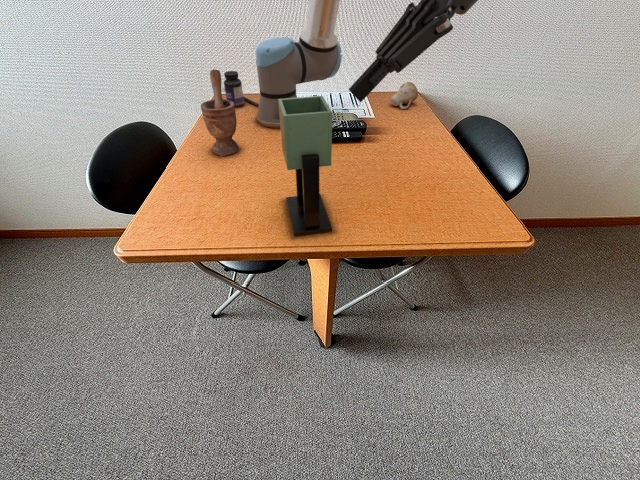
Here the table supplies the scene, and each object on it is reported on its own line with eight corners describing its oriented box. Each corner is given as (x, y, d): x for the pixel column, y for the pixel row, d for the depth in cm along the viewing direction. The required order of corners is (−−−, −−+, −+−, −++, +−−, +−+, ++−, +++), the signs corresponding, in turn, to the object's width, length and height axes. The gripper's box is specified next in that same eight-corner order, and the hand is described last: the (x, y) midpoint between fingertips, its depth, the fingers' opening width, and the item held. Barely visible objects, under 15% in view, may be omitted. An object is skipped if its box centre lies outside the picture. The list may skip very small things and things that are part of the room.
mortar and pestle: (205, 143, 102) (188, 71, 89) (233, 137, 105) (220, 66, 92) (215, 159, 94) (198, 83, 81) (245, 152, 97) (233, 78, 84)
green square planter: (322, 146, 69) (322, 95, 63) (331, 165, 63) (332, 112, 57) (282, 150, 68) (278, 98, 61) (287, 170, 62) (283, 116, 55)
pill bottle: (224, 104, 126) (218, 72, 118) (238, 100, 129) (233, 69, 121) (233, 109, 122) (227, 76, 115) (247, 105, 125) (243, 72, 118)
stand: (319, 197, 80) (319, 127, 69) (332, 231, 71) (334, 157, 59) (286, 200, 79) (280, 130, 68) (294, 236, 69) (288, 161, 58)
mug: (383, 105, 125) (392, 77, 123) (401, 113, 131) (410, 86, 128) (398, 106, 119) (407, 76, 117) (416, 114, 125) (425, 86, 122)
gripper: (504, 0, 48) (379, 124, 57) (458, -10, 58) (357, 97, 67) (482, -49, 44) (350, 93, 53) (436, -51, 54) (331, 70, 62)
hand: (354, 95), depth 60 cm, fingers closed
